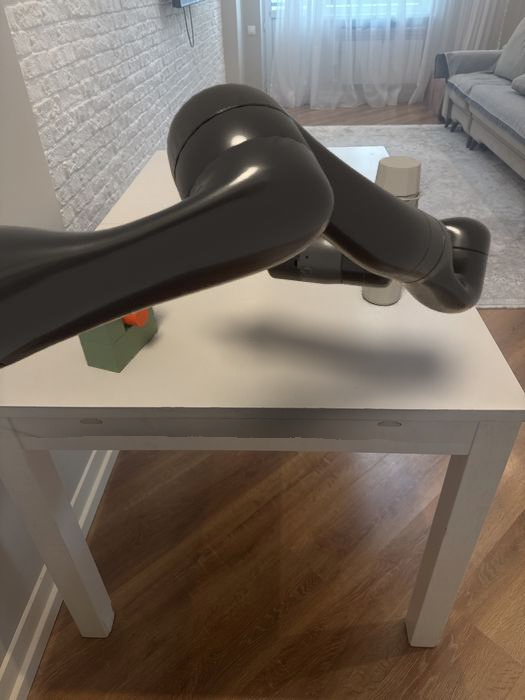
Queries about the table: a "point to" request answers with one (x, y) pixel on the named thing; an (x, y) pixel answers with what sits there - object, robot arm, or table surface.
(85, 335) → the block
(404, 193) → the water bottle
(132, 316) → the push knob
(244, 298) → the table surface
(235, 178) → the robot arm
